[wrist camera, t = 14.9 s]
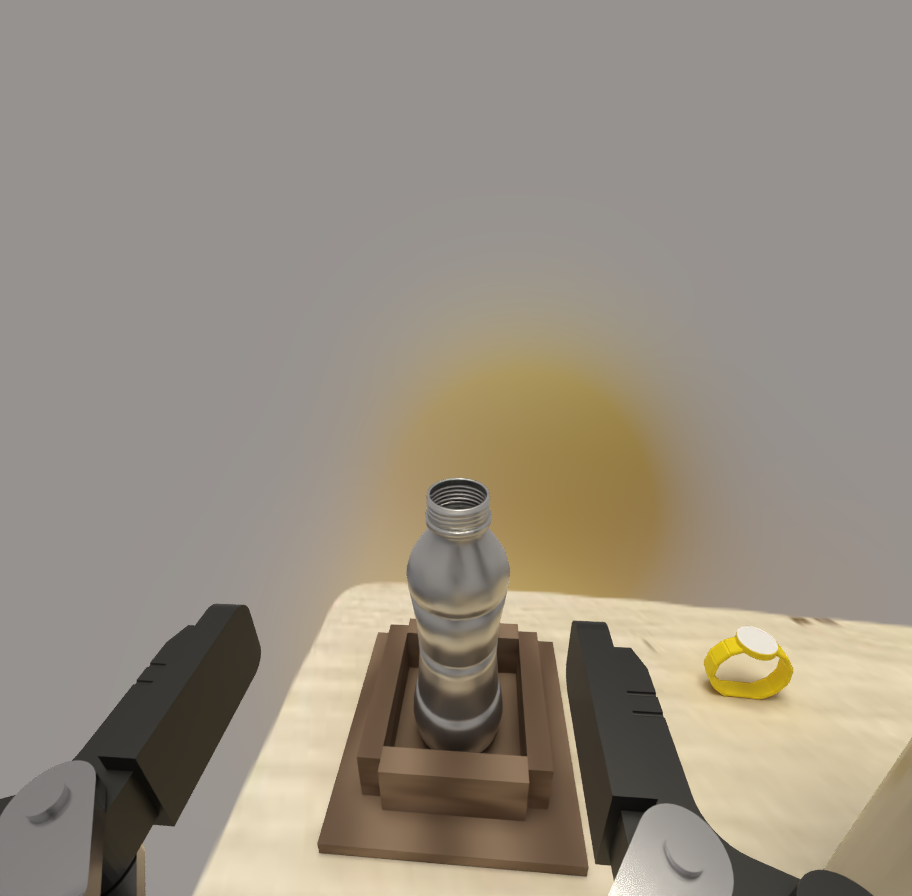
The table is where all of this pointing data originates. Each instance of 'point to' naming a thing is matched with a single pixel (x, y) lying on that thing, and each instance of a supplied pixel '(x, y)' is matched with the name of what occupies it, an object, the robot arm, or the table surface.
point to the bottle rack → (459, 771)
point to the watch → (757, 647)
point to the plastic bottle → (458, 618)
